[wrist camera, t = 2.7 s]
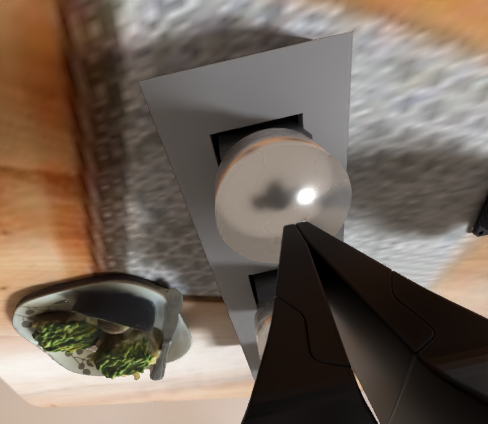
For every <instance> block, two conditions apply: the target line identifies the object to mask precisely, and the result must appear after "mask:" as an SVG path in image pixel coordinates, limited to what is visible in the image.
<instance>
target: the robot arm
mask: <svg viewBox="0 0 488 424" xmlns="http://www.w3.org/2000/svg"><path fill="white" fill-rule="evenodd" d="M473 234H474V235H476V236H477V237H479V236H484V235H488V198H487V200H486V202H485V205H484V207H483V209H482V212H481V214H480V216H479V219H478V221H477V223H476V226H475V228H474V230H473ZM350 364H351V365H350ZM351 366H352V368H353V370H354V372H355V374H356V376H357V378H358V380H359V382H360V384H361V386H362V388H363V390H364V392H365V394H366V396H367V398H368V400H369V402H370V404H371V406H372V408H373V410H374V412H375V414H376V416H377V418H378V420H379V422H380V424H488V319H487V318H485V317H483V316H481V315H479V314H477V313H475V312H473V311H471V310H468V309H466V308H464V307H462V306H460V305H458V304H456V303H454V302H452V301H450V300H448V299H446V298H444V297H442V296H440V295H438V294H436V293H434V292H432V291H430V290H428V289H426V288H424V287H422V286H420V285H418V284H417V283H415V282H413V281H411V280H409V279H407V278H406V277H404V276H402V275H400V274H399V273H397V272H395V271H392V270H391V269H390V268H388V267H386V266H384V265H383V264H381V263H379V262H378V261H376V260H374V259H372V258H371V257H369V256H367V255H365V254H364V253H362V252H360V251H358V250H357V249H355V248H353V247H351V246H350V245H348V244H346V243H344V242H343V241H341V240H339V239H337V238H336V237H334V236H332V235H330V234H329V233H327V232H325V231H323V230H322V229H320V228H318V227H317V226H315V225H313V224H311V223H310V222H308V221H302V222H298V223H296V224H289V225H285V226H284V227H283V233H282V241H281V249H280V257H279V265H278V274H277V282H276V290H275V298H274V305H273V312H272V318H271V324H270V328H269V332H268V337H267V341H266V345H265V348H264V352H263V355H262V359H261V363H260V366H259V370H258V373H257V377H256V381H255V384H254V388H253V391H252V394H251V398H250V401H249V404H248V407H247V410H246V412H245V415H244V417H243V420H242V422H241V424H378V422H377V421H376V419H375V417H374V415H373V414H372V412H371V410H370V409H369V407H368V405H367V403H366V402H365V400H364V398H363V396H362V393H361V391H360V389H359V387H358V384H357V382H356V379H355V376H354V374H353V371H352V369H351Z"/></svg>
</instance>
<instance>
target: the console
mask: <svg viewBox="0 0 488 424" xmlns="http://www.w3.org/2000/svg"><path fill="white" fill-rule="evenodd" d="M352 40H353V31H352V32H348V33H343V34H338V35H333V36H329V37H324V38H319V39H315V40H310V41H306V42H302V43H298V44H293V45H289V46H285V47H281V48H276V49H272V50H268V51H264V52H259V53H255V54H251V55H246V56H242V57H238V58H234V59H229V60H225V61H221V62H217V63H212V64H208V65H204V66H200V67H195V68H191V69H187V70H183V71H178V72H174V73H170V74H166V75H161V76H157V77H154V78H150V79H147V80H143V81H139V84H140V87H141V89H142V92H143V95H144V97H145V100H146V102H147V105H148V107H149V110H150V113H151V115H152V118H153V120H154V123H155V125H156V128H157V131H158V133H159V136H160V138H161V141H162V143H163V146H164V149H165V151H166V154H167V156H168V159H169V161H170V164H171V167H172V169H173V172H174V174H175V177H176V179H177V182H178V185H179V187H180V190H181V192H182V195H183V197H184V200H185V203H186V205H187V208H188V210H189V213H190V215H191V218H192V221H193V223H194V226H195V228H196V231H197V234H198V236H199V239H200V241H201V244H202V246H203V249H204V252H205V254H206V257H207V259H208V262H209V264H210V267H211V270H212V272H213V275H214V277H215V280H216V282H217V285H218V288H219V290H220V293H221V295H222V298H223V300H224V303H225V306H226V308H227V311H228V313H229V316H230V318H231V321H232V324H233V326H234V329H235V331H236V334H237V336H238V339H239V342H240V344H241V347H242V349H243V352H244V354H245V357H246V360H247V362H248V365H249V367H250V370H251V372H252V375H253V378H254V380H255V381H256V377H257V373H258V370H259V366H260V363H261V360H260V357H259V351H258V345H257V339H256V332H255V326H254V316H255V314H256V312H257V310H258V309H259V308H260V307H259V303H257V304H256V300H255V296H254V293H253V289H252V285H251V281H250V278H249V275H253V274H257V273H261V272H266V271H270V270H275V269H278V265H279V263H263V262H257V261H253V260H250V259H247V258H245V257H243V256H241V255H239V254H238V253H236V252H235V251H233V250H232V249H231V248H230V247H229V246H228V245H227V244H226V243H225V241H224V240H223V238H222V237H221V235H220V233H219V230H218V228H217V224H216V216H215V178H216V174H217V170H218V168H219V163H218V159H217V155H216V151H215V148H214V144H213V140H212V137H211V134H214V133H219V132H223V131H227V130H232V129H236V128H240V127H245V126H249V125H253V124H258V123H262V122H266V121H270V120H275V119H279V118H283V117H288V116H292V115H296V114H297V117H298V125H300V126H301V127H302V128H304V129H305V130H306V131H308V132H309V133H311V134H312V140H313V141H314V142H315V143H317V144H318V145H319V146H320V147H322V148H323V149H324V150H325V151H327V152H328V153H329V154H330V155H332V156H333V157H334V158H335V159H336V160H337V161H339V163H340V164H341V165H342V166H343V167H344V169H345V171H347V149H348V127H349V106H350V84H351V62H352ZM343 236H344V224H343V225H342V227H341V228H340V230H339V231H338V232H337V234H336V235H335V236H334V237H336V238H337V239H339V240H341V241H343Z"/></svg>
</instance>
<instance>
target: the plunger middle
mask: <svg viewBox="0 0 488 424" xmlns="http://www.w3.org/2000/svg"><path fill="white" fill-rule="evenodd" d="M277 274H278V269H275V270H270V271H266V272H261V273H257V274H253V276H254V281H255V287H256V292H257V297H258V302H259V307H260V308H259V309H258V310H257V312H256V314H255V316H254V326H255V332H256V339H257V345H258V351H259V357H260V360H261V359H262V355H263V352H264V348H265V345H266V341H267V337H268V332H269V328H270V324H271V318H272V312H273V305H274V298H275V290H276V282H277Z"/></svg>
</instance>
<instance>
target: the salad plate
mask: <svg viewBox="0 0 488 424" xmlns="http://www.w3.org/2000/svg"><path fill="white" fill-rule="evenodd" d="M65 301H67V302H65ZM182 305H183V295H182V294H181V293H180V292H179V291H178V290H177V289H176V288H172V289H166V288H163V287H160V286H158V285H156V284H154V283H152V282H150V281H148V280H145V279H142V278H139V277H135V276H129V275H108V276H100V277H91V278H86V279H81V280H77V281H71V282H66V283H61V284H57V285H53V286H50V287H48V288H45V289H43V290H40V291H38V292H35V293H32V294H30V295H28V296H26V297H24V298H23V299H21V301H20V302H19V303H18V304H17V306H16V309H15V310H14V312H13V318H12V325H13V327H14V329H15V330H16V331H17V332H18V333H19V334H20V335H21V336H22V337H24V338H25V339H27V340H28V341H29V342H31V343H33V344H34V345H35V346H37V347H38V348H40V349H41V350H42V351H43V352H45V353H47V354H48V355H49V356H50V357H51V358H52V359H53V360H55V361H56V362H57V363H59V364H60V365H61V366H63V367H64V368H66V369H67V370H69V371H72V372H75V373H78V374H83V375H91V376H105V377H106V378H111V379H113V378H114V377H116V376H118V377H119V376H122V377H125V376H127V375H134V379H135V380H137V379H139V378H140V373H143V372H144V369H145V367H147V368H149V369H150V378H151V379H152V380H160V379H162V378H163V376H164V373H165V368H166V365H167V363H169V362H172V361H175V360H177V359H180V358H181V357H183V356H184V355H185V354H186V353H187V352H188V351H189V350H190V348H191V347H192V343H193V342H192V336H191V333H190V331H189V328H188V326H187V325H186V323H185V322H184V320H183V318H182V316H181V315H180V313H181V311H182ZM93 345H96V346H97V347H98V349H97V351H96V352H93V351H89V350H86V349H87V348H90V347H92V346H93Z"/></svg>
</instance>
